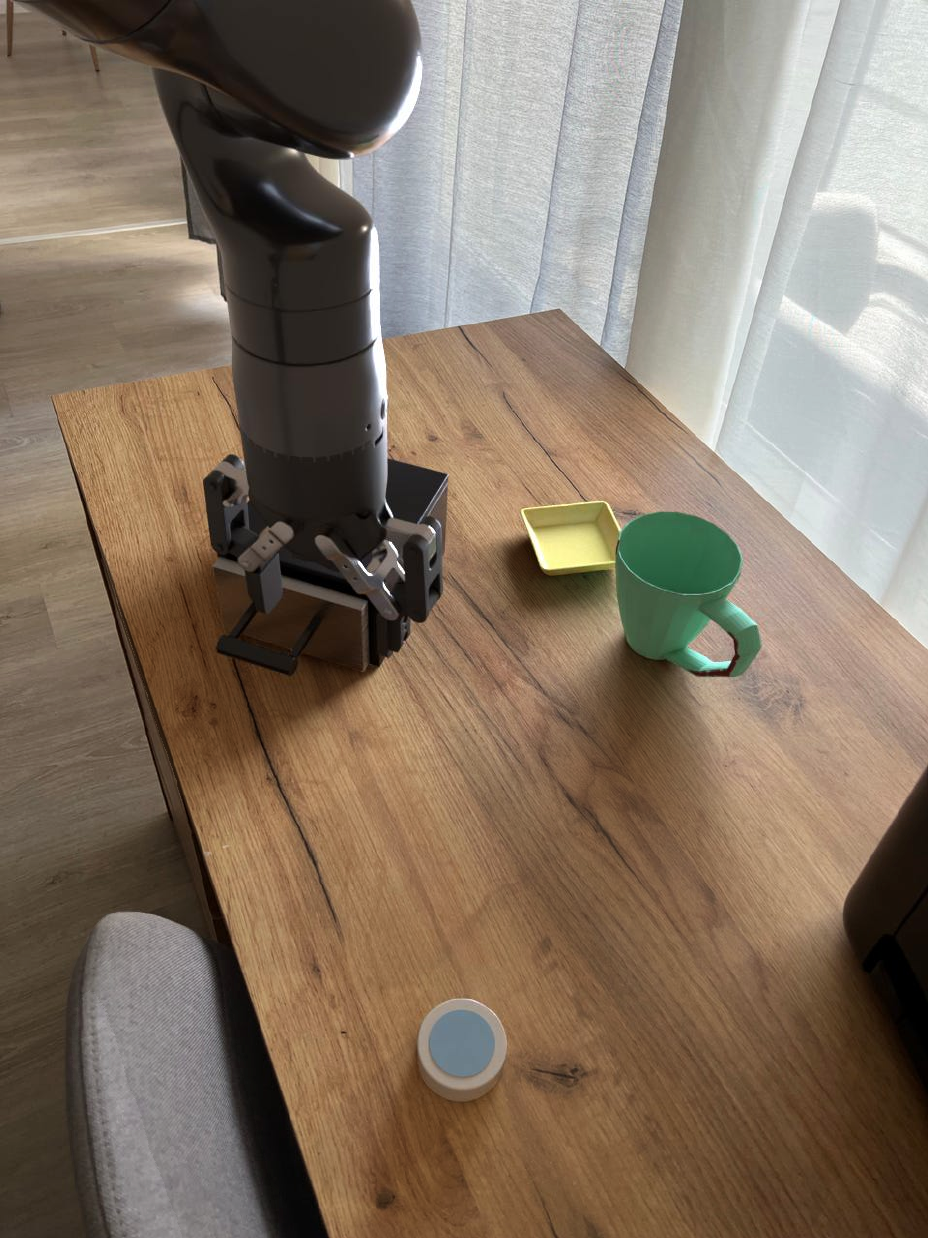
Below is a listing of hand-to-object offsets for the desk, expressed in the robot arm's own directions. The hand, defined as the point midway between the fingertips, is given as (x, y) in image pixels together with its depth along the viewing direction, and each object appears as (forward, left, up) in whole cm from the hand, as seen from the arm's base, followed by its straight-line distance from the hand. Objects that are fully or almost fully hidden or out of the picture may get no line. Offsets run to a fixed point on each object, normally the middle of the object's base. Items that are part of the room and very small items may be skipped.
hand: (329, 625), depth 60 cm
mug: (+26, -13, -15) cm, 33 cm away
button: (-10, -21, -15) cm, 27 cm away
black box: (+13, +13, -15) cm, 24 cm away
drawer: (+8, +12, -14) cm, 20 cm away
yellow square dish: (+31, +1, -15) cm, 35 cm away
